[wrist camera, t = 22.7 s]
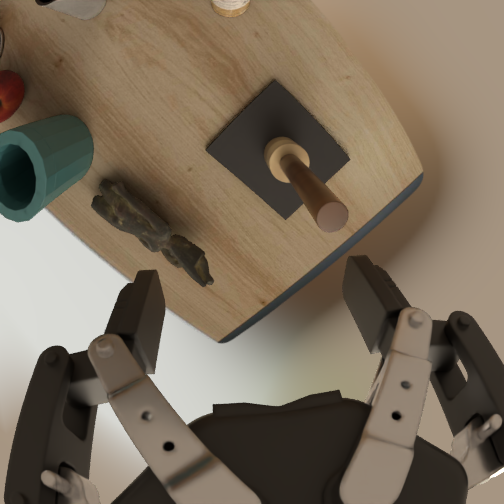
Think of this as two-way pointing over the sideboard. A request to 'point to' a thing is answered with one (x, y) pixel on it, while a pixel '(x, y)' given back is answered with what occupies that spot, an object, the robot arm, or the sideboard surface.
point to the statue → (150, 230)
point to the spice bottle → (230, 7)
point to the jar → (41, 163)
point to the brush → (305, 183)
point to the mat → (261, 133)
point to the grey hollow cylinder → (75, 7)
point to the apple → (10, 93)
